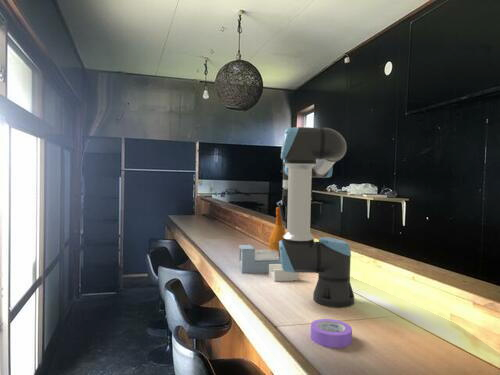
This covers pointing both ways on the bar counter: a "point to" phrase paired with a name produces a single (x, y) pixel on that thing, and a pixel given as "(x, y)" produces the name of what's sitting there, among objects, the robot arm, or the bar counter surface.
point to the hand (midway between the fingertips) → (289, 235)
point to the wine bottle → (277, 232)
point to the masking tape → (331, 333)
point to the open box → (252, 261)
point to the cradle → (281, 273)
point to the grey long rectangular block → (265, 255)
